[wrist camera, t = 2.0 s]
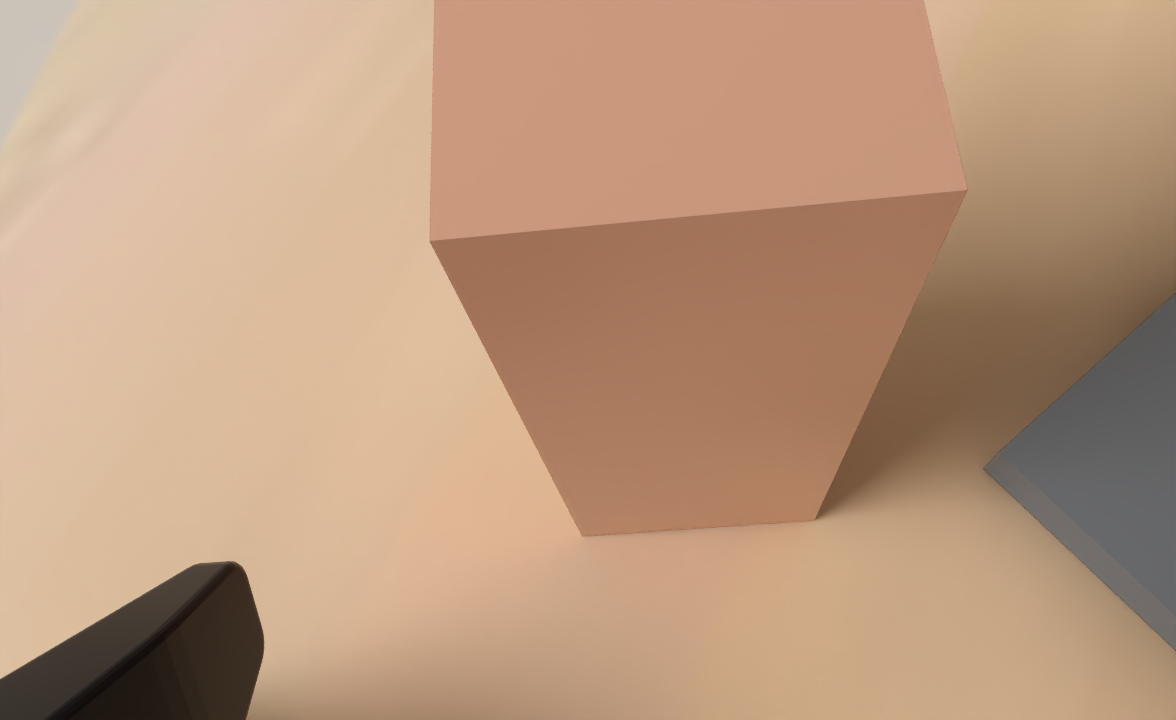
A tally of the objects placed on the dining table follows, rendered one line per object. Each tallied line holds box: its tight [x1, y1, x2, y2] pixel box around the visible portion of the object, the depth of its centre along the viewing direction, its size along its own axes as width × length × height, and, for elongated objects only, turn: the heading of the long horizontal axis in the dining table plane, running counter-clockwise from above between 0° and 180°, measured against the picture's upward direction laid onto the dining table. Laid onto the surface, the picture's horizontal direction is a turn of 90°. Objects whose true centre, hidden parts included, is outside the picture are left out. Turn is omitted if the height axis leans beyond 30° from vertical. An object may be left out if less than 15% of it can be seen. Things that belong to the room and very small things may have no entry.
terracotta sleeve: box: [430, 0, 967, 536], centre depth 16 cm, size 5×5×13 cm
